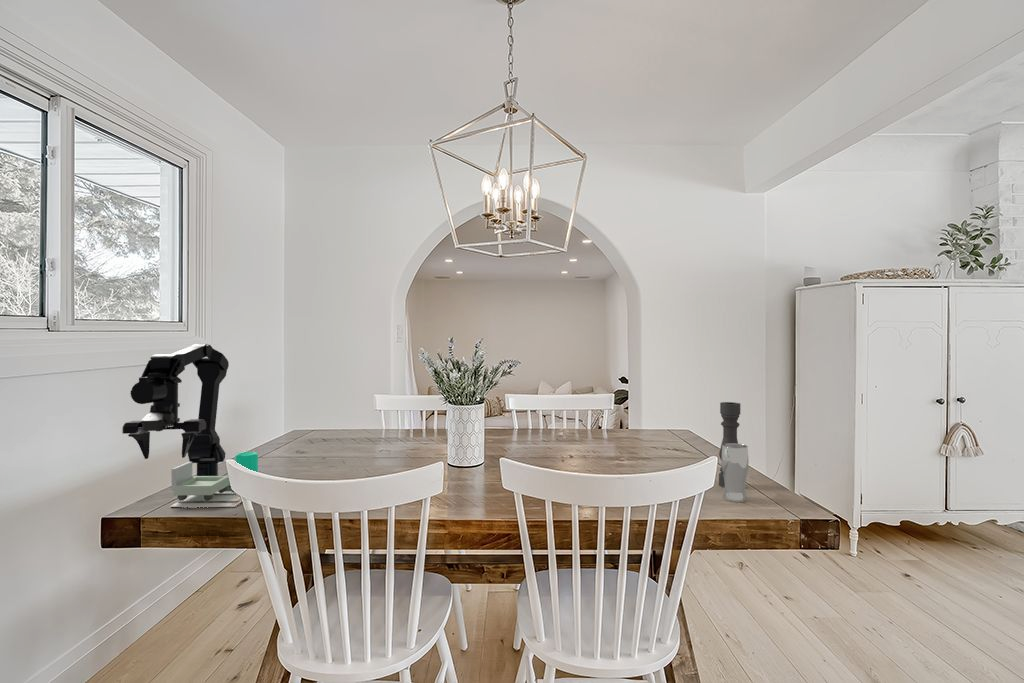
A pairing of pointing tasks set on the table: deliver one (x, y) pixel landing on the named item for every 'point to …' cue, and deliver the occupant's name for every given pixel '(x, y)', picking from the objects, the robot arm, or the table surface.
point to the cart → (196, 483)
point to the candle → (248, 460)
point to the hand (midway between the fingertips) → (165, 458)
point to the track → (210, 501)
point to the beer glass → (734, 471)
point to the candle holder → (728, 428)
